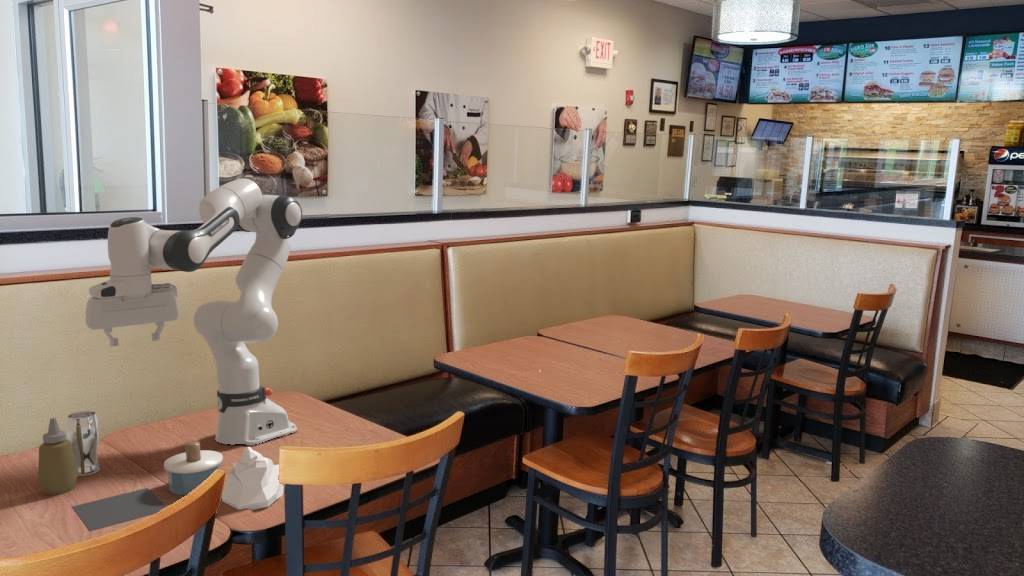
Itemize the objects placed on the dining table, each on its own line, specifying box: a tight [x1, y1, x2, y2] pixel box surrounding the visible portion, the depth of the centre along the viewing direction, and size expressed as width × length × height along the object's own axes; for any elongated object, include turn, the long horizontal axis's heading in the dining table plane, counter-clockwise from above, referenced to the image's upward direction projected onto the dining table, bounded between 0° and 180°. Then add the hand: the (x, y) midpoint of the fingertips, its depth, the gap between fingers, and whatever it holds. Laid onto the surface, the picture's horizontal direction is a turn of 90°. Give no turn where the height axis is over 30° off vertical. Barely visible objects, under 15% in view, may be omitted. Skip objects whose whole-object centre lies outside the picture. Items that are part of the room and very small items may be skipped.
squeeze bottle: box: [37, 417, 78, 496], centre depth 183 cm, size 8×8×18 cm
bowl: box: [167, 464, 221, 496], centre depth 186 cm, size 11×11×6 cm
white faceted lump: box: [221, 446, 285, 511], centre depth 178 cm, size 12×15×14 cm
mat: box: [71, 487, 168, 532], centre depth 174 cm, size 16×16×1 cm
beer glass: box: [66, 410, 101, 477], centre depth 196 cm, size 7×7×15 cm
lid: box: [163, 440, 224, 473], centre depth 185 cm, size 13×13×5 cm
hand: (135, 343), depth 188 cm, fingers open, 8 cm apart
